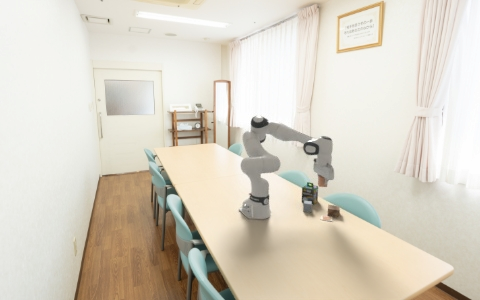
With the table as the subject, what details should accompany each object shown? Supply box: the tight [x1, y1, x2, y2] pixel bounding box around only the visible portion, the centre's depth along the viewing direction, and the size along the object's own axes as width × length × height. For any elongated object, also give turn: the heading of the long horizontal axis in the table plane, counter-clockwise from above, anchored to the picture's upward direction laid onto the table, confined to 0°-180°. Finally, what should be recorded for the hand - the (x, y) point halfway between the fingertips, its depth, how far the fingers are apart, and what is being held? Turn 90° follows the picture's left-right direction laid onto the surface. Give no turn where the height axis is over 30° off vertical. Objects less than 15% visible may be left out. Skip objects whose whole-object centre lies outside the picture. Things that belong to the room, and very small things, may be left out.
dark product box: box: [301, 181, 319, 205], centre depth 192 cm, size 9×9×15 cm
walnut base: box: [327, 204, 341, 218], centre depth 172 cm, size 7×7×5 cm
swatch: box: [320, 215, 333, 223], centre depth 167 cm, size 7×6×1 cm
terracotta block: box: [317, 175, 328, 188], centre depth 171 cm, size 5×5×6 cm
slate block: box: [302, 200, 313, 213], centre depth 178 cm, size 5×5×6 cm
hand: (322, 182), depth 171 cm, fingers closed on terracotta block, 6 cm apart
